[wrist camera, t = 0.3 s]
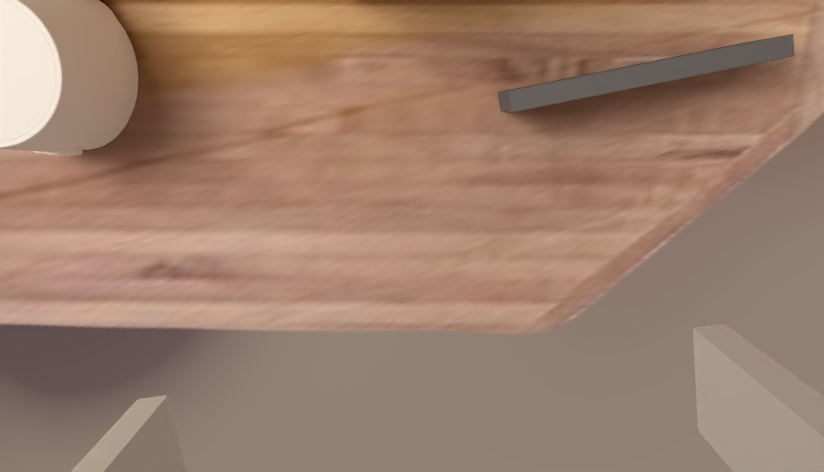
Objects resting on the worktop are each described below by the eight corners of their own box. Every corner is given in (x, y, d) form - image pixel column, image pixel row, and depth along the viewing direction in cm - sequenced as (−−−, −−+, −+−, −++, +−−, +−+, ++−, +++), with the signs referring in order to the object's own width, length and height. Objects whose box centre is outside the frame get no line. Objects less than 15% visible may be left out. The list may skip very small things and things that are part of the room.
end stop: (497, 92, 41) (508, 91, 36) (747, 42, 40) (792, 34, 35) (500, 110, 41) (512, 112, 36) (748, 61, 40) (794, 56, 35)
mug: (61, 173, 33) (-93, 152, 33) (139, 157, 42) (19, 141, 42) (65, -74, 30) (-102, -98, 30) (147, -34, 39) (19, -51, 39)
